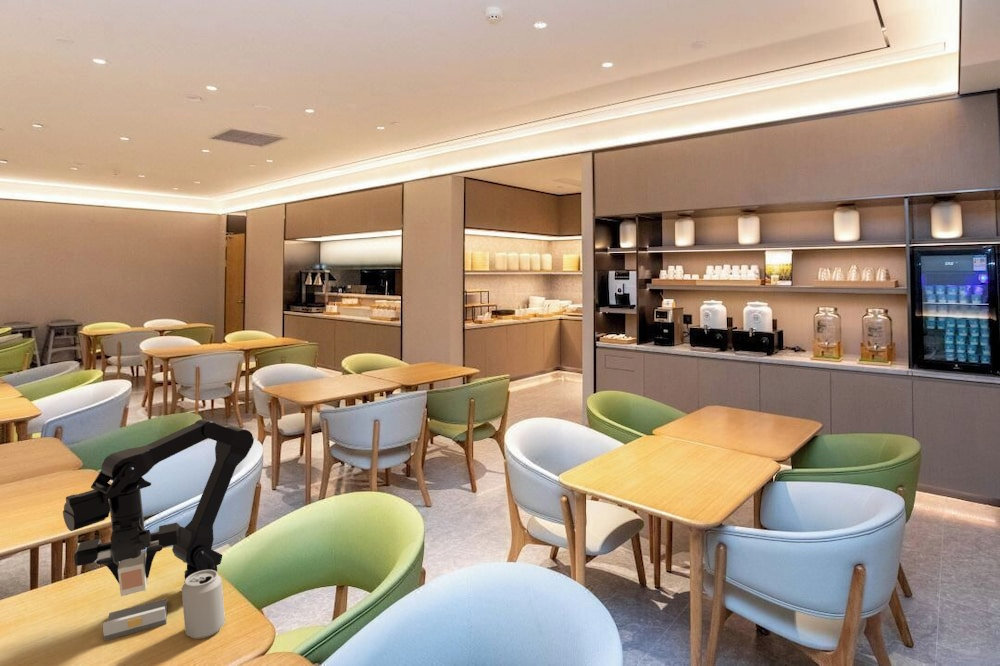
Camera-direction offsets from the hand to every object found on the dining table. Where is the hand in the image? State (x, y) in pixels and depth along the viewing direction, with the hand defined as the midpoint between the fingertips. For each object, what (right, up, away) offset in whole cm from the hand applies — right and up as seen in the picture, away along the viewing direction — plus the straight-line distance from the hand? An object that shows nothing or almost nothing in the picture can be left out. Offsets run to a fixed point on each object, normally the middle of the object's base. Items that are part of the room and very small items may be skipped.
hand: (134, 580), depth 123 cm
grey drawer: (0, -9, +1) cm, 9 cm away
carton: (0, -1, 0) cm, 1 cm away
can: (+17, -9, -3) cm, 20 cm away
